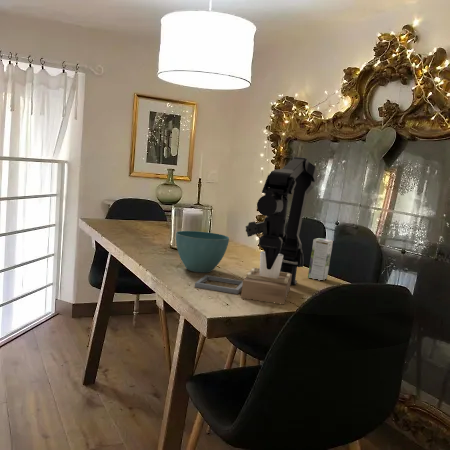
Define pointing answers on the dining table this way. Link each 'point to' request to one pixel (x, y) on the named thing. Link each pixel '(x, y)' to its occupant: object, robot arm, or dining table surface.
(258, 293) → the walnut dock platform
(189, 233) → the teal round bowl
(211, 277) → the grey square frame
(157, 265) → the dining table surface
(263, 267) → the shot glass
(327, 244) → the syrup box
